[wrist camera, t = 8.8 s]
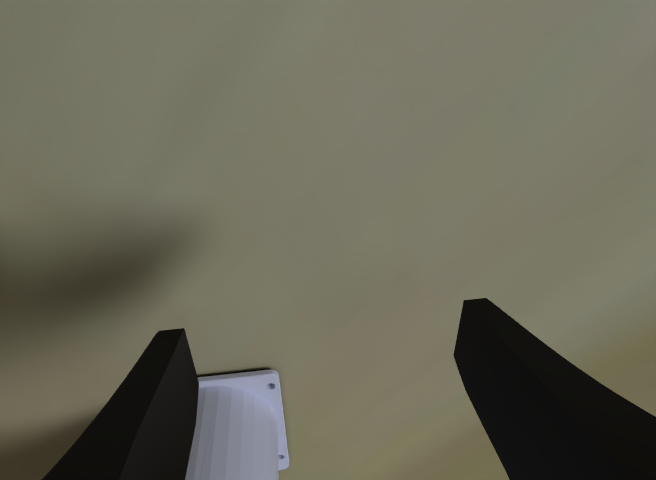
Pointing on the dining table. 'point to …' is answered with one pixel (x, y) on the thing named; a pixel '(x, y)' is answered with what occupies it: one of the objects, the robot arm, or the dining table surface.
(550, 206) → the dining table surface
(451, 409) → the dining table surface
